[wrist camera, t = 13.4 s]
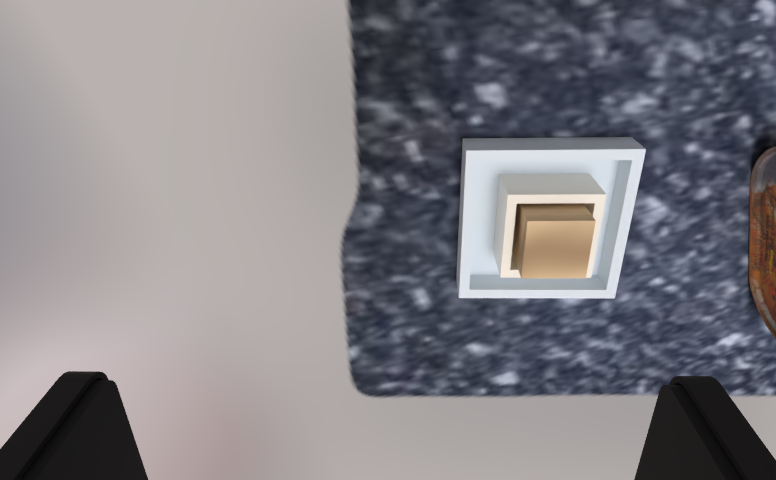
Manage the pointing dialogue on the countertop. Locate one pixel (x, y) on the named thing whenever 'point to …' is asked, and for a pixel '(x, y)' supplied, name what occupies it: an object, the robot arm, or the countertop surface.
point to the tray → (544, 156)
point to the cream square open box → (538, 192)
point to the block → (552, 240)
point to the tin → (763, 237)
